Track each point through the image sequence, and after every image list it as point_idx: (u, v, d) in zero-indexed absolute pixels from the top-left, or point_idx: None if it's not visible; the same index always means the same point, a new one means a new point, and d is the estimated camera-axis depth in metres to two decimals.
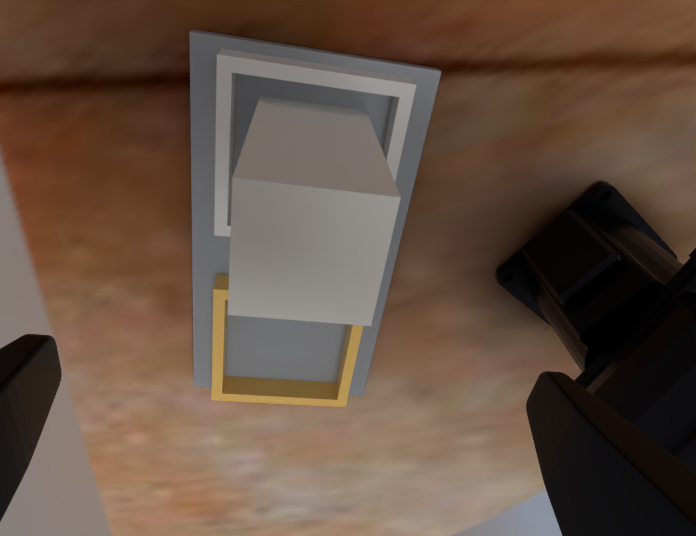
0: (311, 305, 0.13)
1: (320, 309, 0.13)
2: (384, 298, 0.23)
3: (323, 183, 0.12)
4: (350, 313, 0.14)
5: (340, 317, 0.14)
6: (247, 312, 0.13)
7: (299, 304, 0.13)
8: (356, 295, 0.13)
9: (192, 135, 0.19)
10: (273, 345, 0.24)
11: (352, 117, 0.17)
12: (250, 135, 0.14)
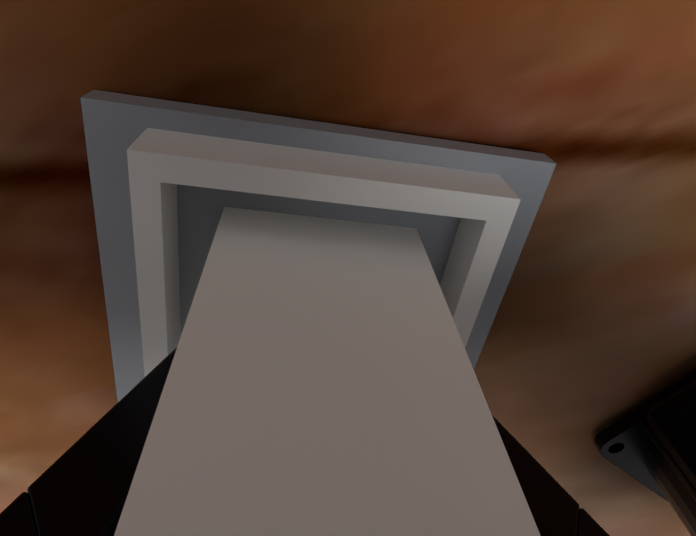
0: None
1: None
2: None
3: None
4: None
5: None
6: None
7: None
8: None
9: (104, 271, 0.10)
10: None
11: (396, 256, 0.09)
12: (175, 379, 0.06)
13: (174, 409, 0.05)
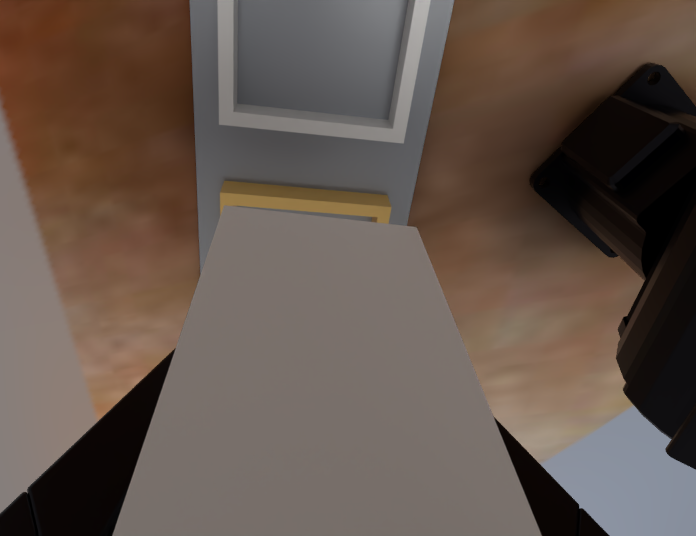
0: None
1: None
2: (408, 208, 0.21)
3: None
4: None
5: None
6: None
7: None
8: None
9: (191, 6, 0.17)
10: None
11: (395, 254, 0.09)
12: (174, 377, 0.06)
13: (173, 407, 0.05)
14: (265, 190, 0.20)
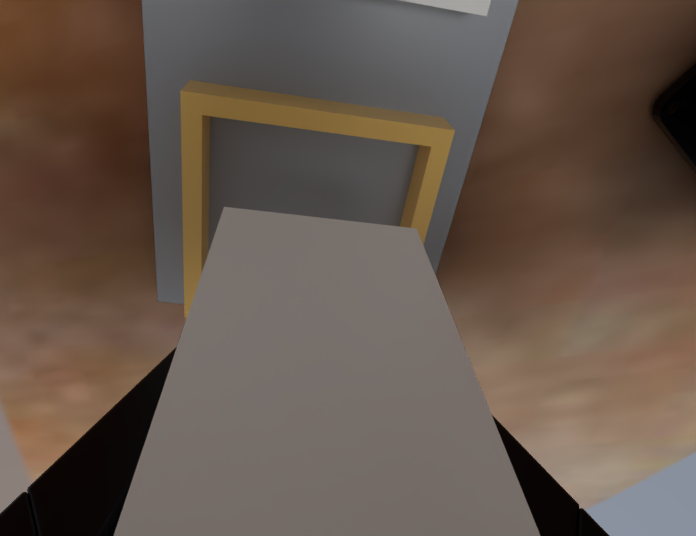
0: None
1: None
2: (472, 141, 0.14)
3: None
4: None
5: None
6: None
7: None
8: None
9: None
10: None
11: (395, 256, 0.09)
12: (175, 380, 0.06)
13: (173, 410, 0.05)
14: (255, 95, 0.12)
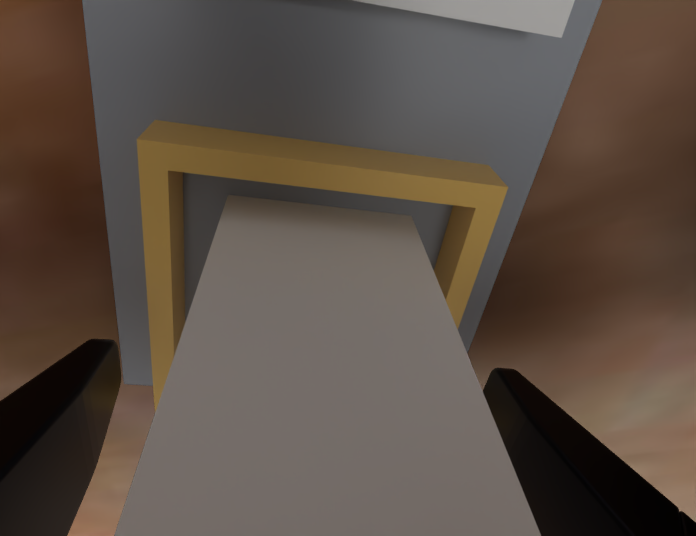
0: None
1: None
2: (524, 194, 0.11)
3: None
4: None
5: None
6: None
7: None
8: None
9: None
10: None
11: (391, 240, 0.10)
12: (186, 346, 0.06)
13: (185, 371, 0.06)
14: (241, 142, 0.09)
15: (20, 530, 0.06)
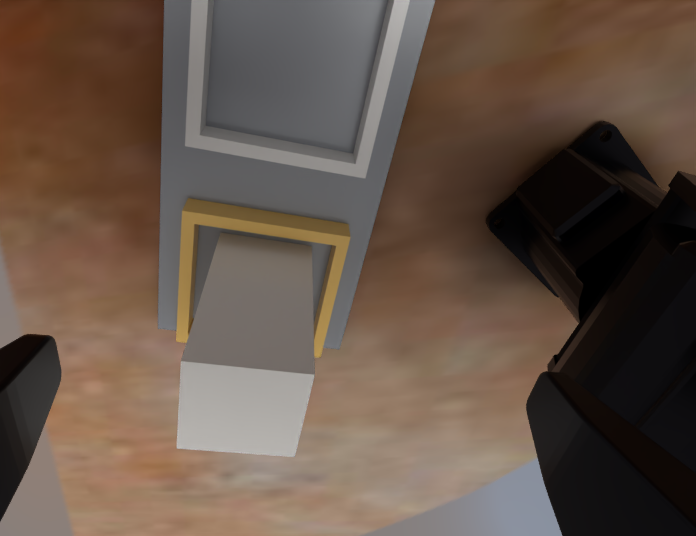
0: (245, 442, 0.17)
1: (252, 445, 0.17)
2: (367, 238, 0.22)
3: (254, 361, 0.15)
4: (276, 448, 0.17)
5: (269, 450, 0.17)
6: (192, 446, 0.16)
7: (235, 442, 0.17)
8: (281, 436, 0.17)
9: (165, 29, 0.17)
10: None
11: (297, 258, 0.21)
12: (203, 297, 0.17)
13: (204, 305, 0.17)
14: (228, 211, 0.20)
15: None
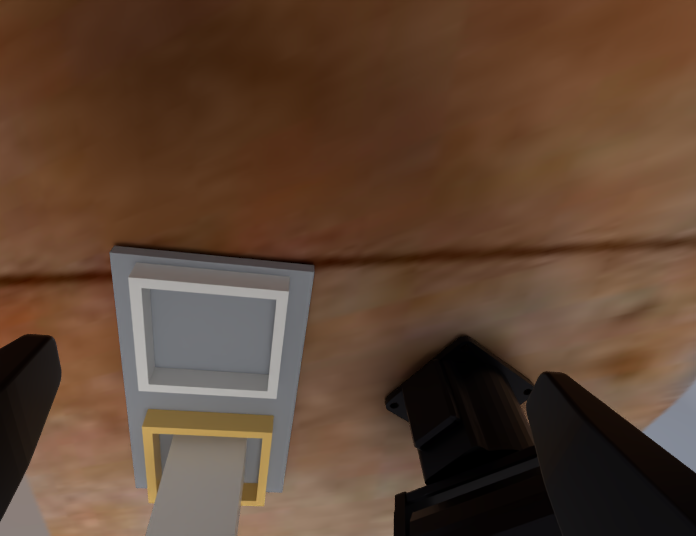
0: None
1: None
2: (290, 423, 0.28)
3: None
4: None
5: None
6: None
7: None
8: None
9: (118, 317, 0.23)
10: None
11: (233, 448, 0.27)
12: (155, 507, 0.24)
13: (154, 516, 0.23)
14: (177, 419, 0.26)
15: None
